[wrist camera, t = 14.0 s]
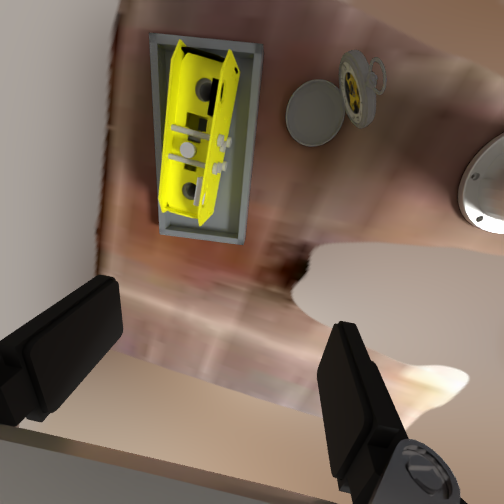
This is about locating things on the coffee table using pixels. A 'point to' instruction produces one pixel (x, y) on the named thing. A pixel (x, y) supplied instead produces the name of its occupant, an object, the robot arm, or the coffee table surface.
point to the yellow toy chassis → (196, 130)
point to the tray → (241, 131)
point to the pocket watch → (334, 101)
